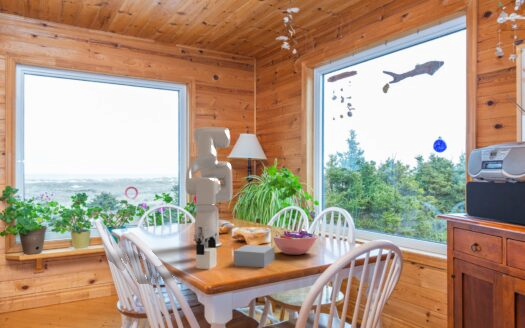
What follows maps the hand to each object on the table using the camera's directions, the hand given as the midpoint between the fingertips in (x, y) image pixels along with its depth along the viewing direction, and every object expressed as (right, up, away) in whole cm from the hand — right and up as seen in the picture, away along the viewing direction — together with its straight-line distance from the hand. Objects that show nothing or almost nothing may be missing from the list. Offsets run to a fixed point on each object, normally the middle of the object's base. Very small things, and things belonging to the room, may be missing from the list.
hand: (206, 252), depth 151 cm
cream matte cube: (0, -6, 0) cm, 6 cm away
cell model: (+37, -6, +22) cm, 43 cm away
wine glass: (-3, -6, +17) cm, 19 cm away
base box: (+19, -6, +7) cm, 21 cm away
